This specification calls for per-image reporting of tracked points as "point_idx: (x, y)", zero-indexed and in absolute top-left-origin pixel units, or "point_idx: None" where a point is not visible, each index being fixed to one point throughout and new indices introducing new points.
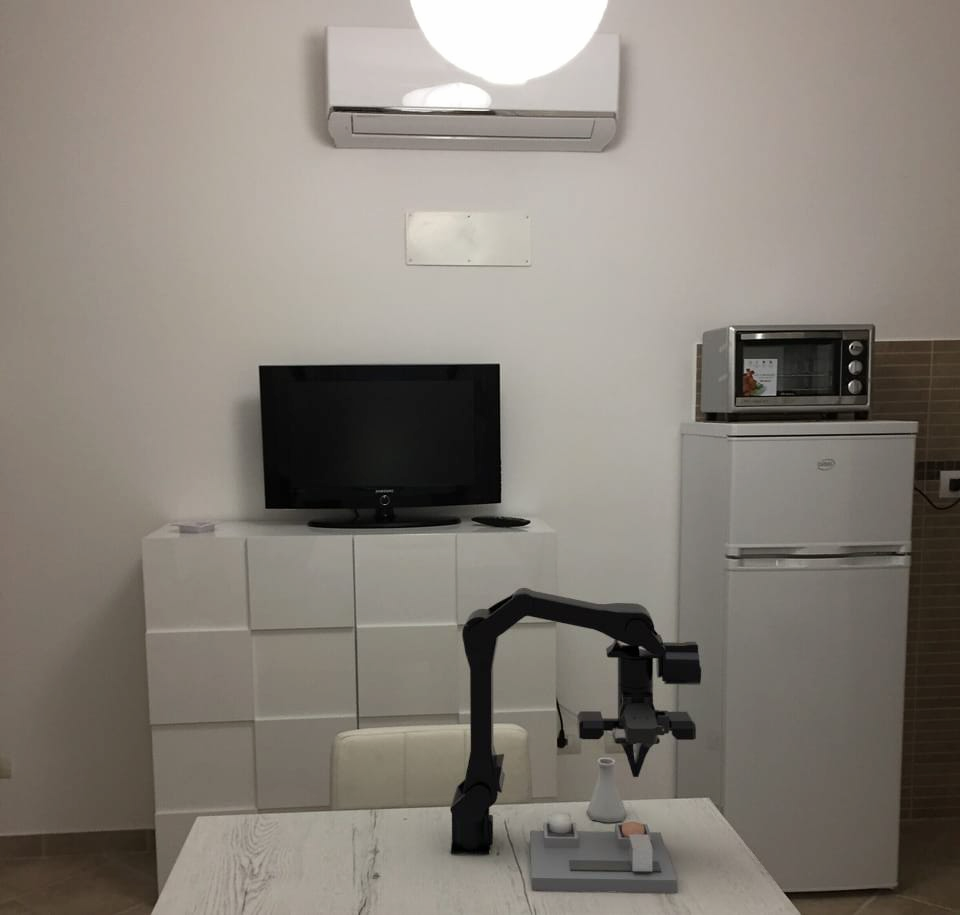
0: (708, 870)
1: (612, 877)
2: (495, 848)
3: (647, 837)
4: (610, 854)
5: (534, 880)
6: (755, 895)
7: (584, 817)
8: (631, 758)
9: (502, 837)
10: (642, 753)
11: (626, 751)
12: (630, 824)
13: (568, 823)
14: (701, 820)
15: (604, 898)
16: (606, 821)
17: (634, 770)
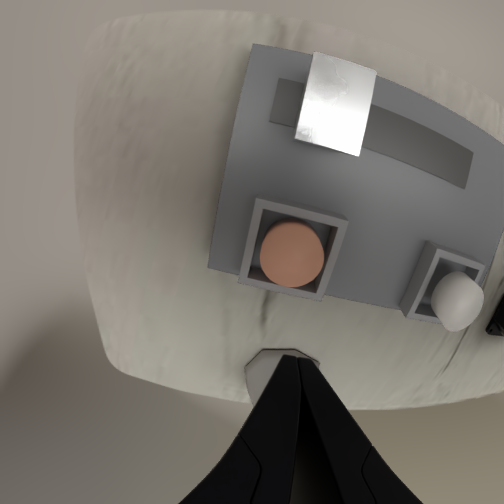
0: (151, 132)
1: (403, 93)
2: (496, 297)
3: (304, 120)
4: (373, 191)
5: None
6: (110, 47)
7: (326, 372)
8: (349, 452)
9: (474, 327)
10: (254, 486)
11: (404, 497)
12: (294, 271)
13: (457, 284)
14: (116, 316)
15: (413, 78)
16: (296, 352)
17: (310, 383)
